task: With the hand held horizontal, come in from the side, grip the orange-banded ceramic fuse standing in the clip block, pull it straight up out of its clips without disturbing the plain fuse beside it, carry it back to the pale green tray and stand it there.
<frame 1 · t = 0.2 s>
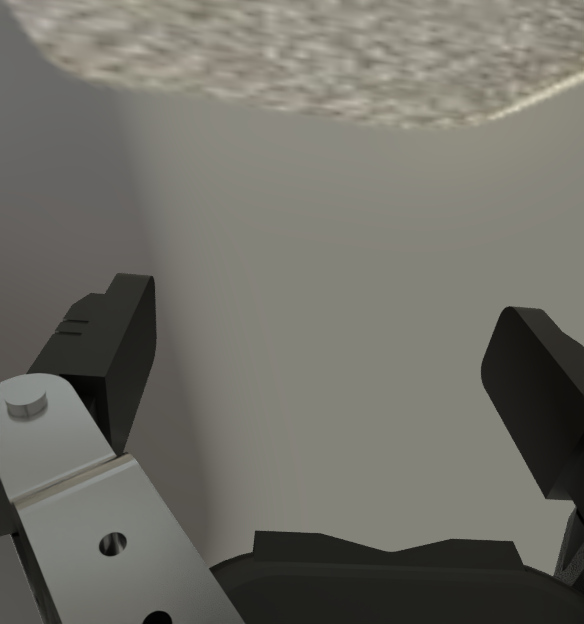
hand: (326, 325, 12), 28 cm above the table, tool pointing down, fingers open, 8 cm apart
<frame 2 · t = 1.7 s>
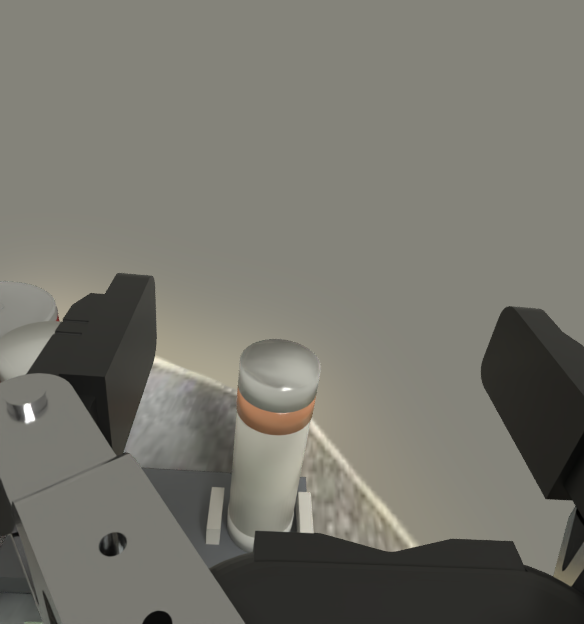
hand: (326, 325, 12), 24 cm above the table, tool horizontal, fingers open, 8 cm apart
canned food: (19, 434, 38), on the table
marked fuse: (259, 524, 32), point 1 cm above the table, touching clip block
plain fuse: (71, 515, 31), point 1 cm above the table, touching clip block
clip block: (167, 535, 32), on the table
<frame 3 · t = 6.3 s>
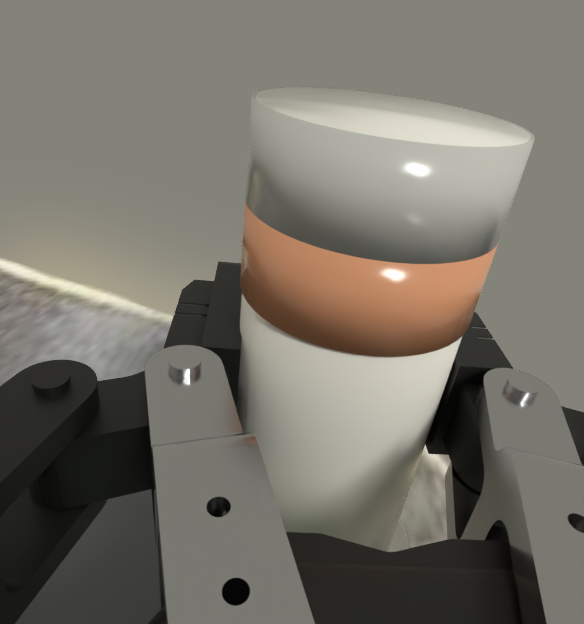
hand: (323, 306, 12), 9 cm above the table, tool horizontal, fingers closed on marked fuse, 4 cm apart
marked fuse: (292, 599, 14), point 2 cm above the table, touching clip block, gripper
clip block: (85, 622, 14), on the table
when the fingers open (10 cm above the table, at t = 12.9 s): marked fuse stays where it is, resting on tray.
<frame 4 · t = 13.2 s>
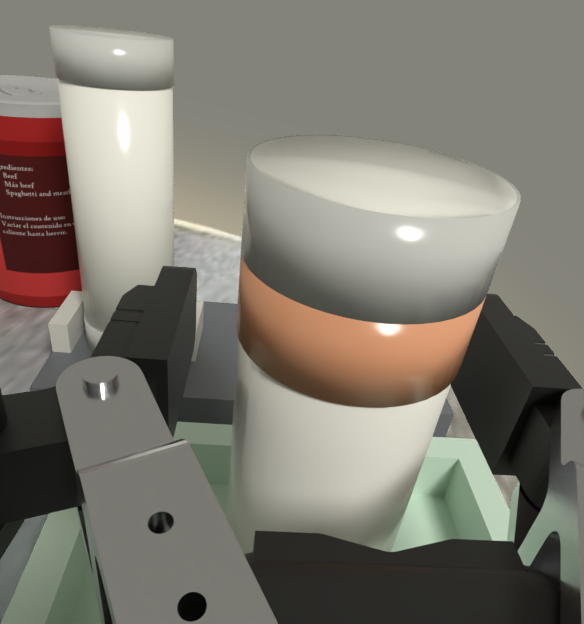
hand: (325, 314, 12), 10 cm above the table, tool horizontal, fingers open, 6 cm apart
canned food: (55, 280, 31), on the table
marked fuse: (289, 617, 14), point 1 cm above the table, touching tray
plain fuse: (132, 338, 24), point 1 cm above the table, touching clip block
clip block: (250, 370, 26), on the table
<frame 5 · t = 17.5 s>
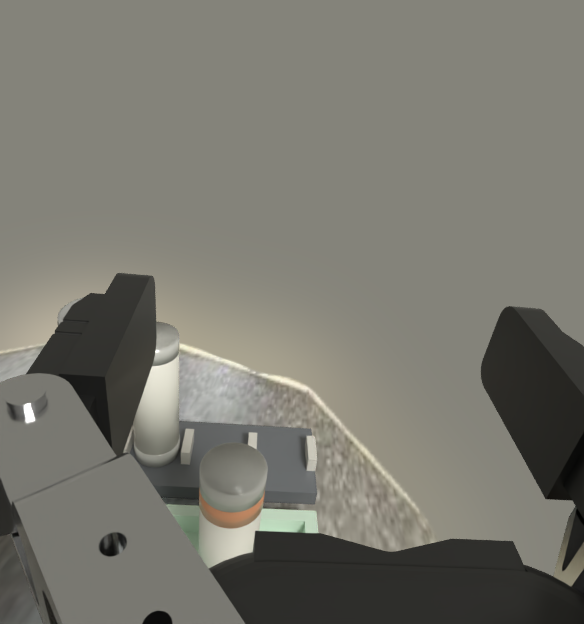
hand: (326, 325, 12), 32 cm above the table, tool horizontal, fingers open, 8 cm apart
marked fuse: (224, 588, 37), point 1 cm above the table, touching tray
tray: (223, 595, 38), on the table
plain fuse: (157, 450, 47), point 1 cm above the table, touching clip block
clip block: (219, 464, 48), on the table
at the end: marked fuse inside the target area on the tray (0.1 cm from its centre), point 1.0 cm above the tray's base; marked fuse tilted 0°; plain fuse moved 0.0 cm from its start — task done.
